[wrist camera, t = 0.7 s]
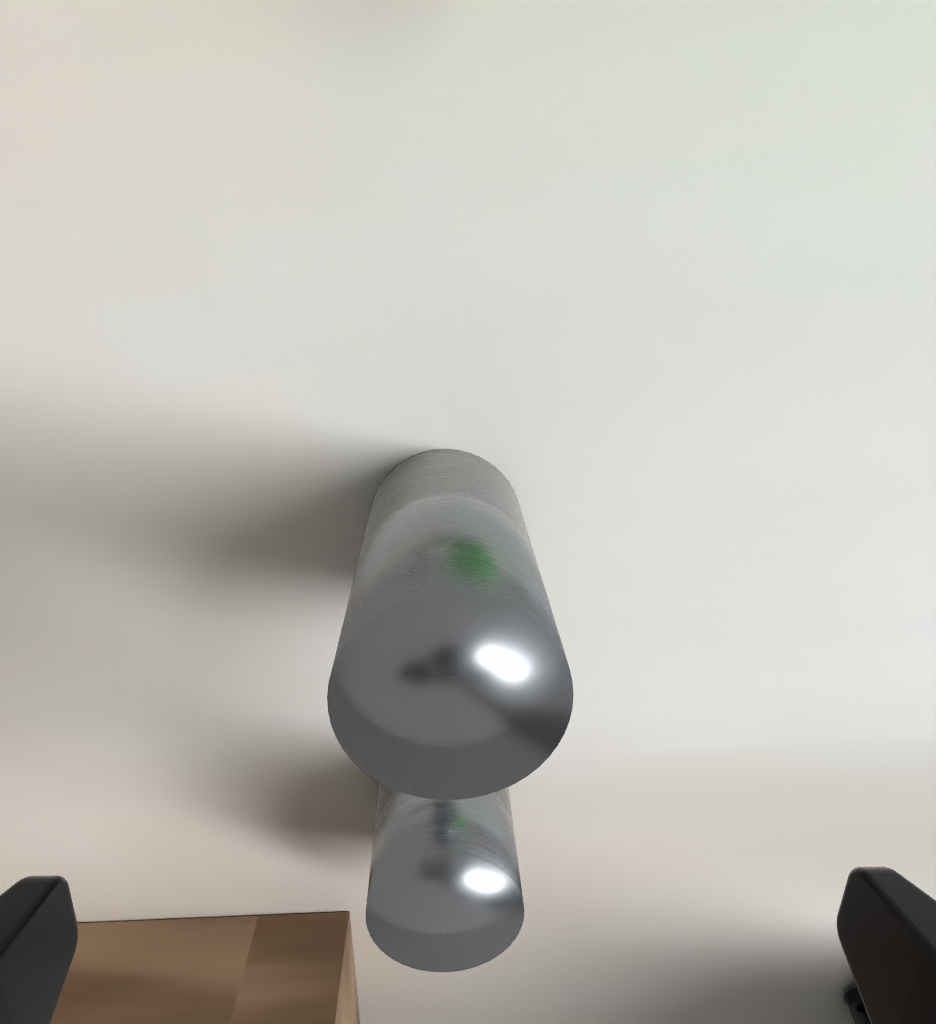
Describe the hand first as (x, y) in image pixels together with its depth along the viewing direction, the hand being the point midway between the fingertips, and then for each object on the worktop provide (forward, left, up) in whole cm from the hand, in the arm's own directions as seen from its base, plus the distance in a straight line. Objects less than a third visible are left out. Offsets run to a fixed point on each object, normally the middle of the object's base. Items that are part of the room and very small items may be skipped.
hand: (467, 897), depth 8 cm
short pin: (-8, +4, -12) cm, 15 cm away
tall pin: (0, 0, -12) cm, 12 cm away
